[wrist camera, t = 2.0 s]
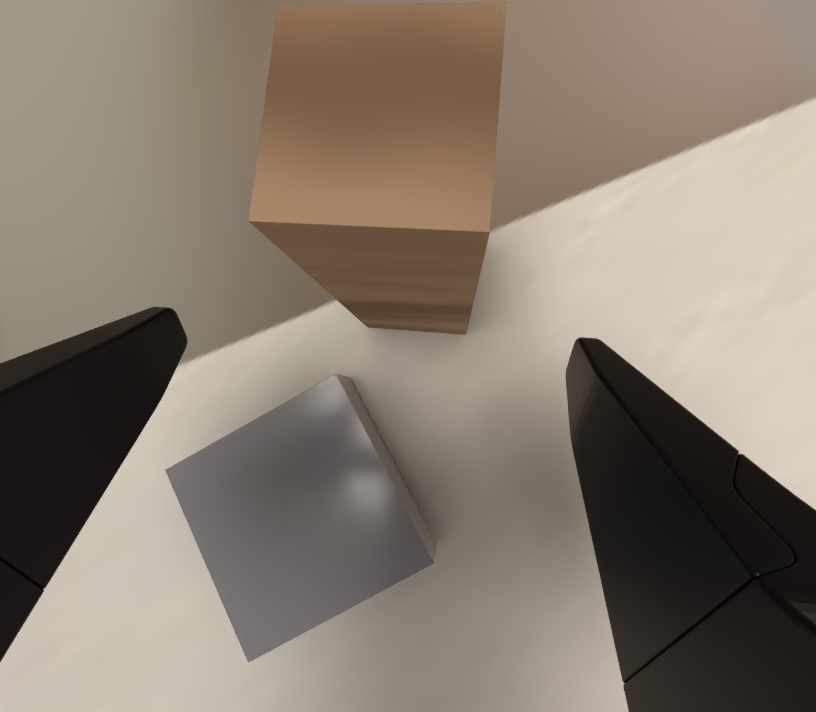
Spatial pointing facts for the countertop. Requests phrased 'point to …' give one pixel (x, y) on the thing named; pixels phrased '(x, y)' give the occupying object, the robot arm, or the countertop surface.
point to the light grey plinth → (301, 515)
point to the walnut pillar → (383, 154)
